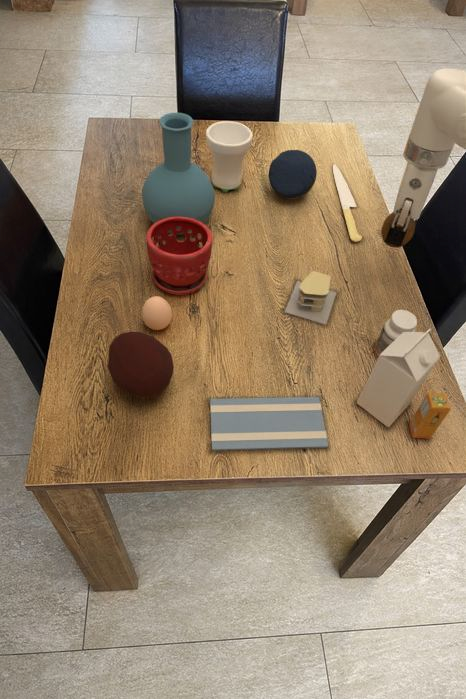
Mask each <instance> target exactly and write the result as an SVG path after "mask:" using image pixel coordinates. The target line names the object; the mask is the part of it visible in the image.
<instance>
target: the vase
mask: <svg viewBox="0 0 466 699" xmlns="http://www.w3.org/2000/svg"><path fill="white" fill-rule="evenodd" d="M194 121H195V120H194V119H193V118H192V117H191V116H190V115H189V114H186V113H183V112H169V113H165V114H164V115H162V116H160V118H159V119H158V123H159V126H160V127H161V136H162V137H161V139H162V148H163V149H162V150H163V159H164V161H163V162H161V163H160V164H159V165H157V166H155V167H154V168H153V169H151V171H150V172H149V174H148V176H147V177H146V179H145V181H144V182H143V185H142V188H141V199H142V203H143V207H144V212H145V214H146V215H147V217H148V219H150V220H151V222H152V223H153V224H155V223H156V222H158V221H160V220H162V219H165V218H169V217H188V218H192V219H195V220H197V221H200V222H202V223H203V224H204V225H206V223H207V222H208V221H209V219H210V218H211V215H212V213H213V209H214V207H215V202H216V195H215V193H216V192H215V190H214V186H213V183H212V180H211V179H210V177H209V176H208V174H207V173H206V171H204V170H203V169H202V168H201V167H200V166H199V165H198V164H196V163H195V162H192V161H191V160H192V159H191V158H192V127H193V125H194V123H195V122H194ZM176 228H177V229H180V228H181V227H180V226H178V227H176ZM188 231H189V232H192V230H190V229H189V230H188ZM172 232H173V231H171V230H170V231H168V233H167V234H172ZM181 235H183V234H182V233H179V234H177V235H176V236H181Z"/></svg>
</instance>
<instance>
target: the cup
mask: <svg viewBox="0 0 466 699" xmlns="http://www.w3.org/2000/svg"><path fill="white" fill-rule="evenodd" d="M253 136H254V135H253V132H252V130H251V128H249V127H248V126H247V125H245V124H243V123H240V122H237V121H233V120H222V121H218V122H214V123H212V124H210V126H208V127H207V128H206V130H205V142H206V145H207V148H208V149H209V152H210V155H211V159H212V173H211V184H212V187H213V188H215V189H216V188H217V189H220V190H221V191H222V192H223V193H227V192H229V191H230V190H234V191H238V190H239V188H240V186H241V184H242V180H243V176H242V175H243V174H242V170H243V164H244V160H245V157H246V155H247V153H248V151H249V150H250V148H251V146H252V144H253Z"/></svg>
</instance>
